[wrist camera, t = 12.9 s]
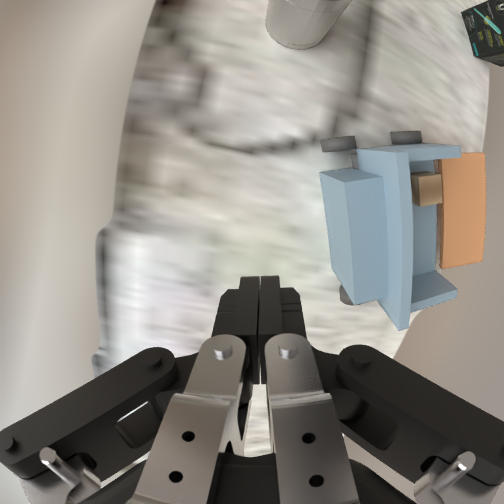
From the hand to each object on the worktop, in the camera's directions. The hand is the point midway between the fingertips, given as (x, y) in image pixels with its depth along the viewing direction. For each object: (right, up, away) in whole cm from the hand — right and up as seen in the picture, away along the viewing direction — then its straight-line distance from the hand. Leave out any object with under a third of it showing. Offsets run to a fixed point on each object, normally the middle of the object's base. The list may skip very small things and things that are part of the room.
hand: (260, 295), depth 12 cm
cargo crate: (+23, +11, +25) cm, 36 cm away
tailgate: (+29, +8, +26) cm, 40 cm away
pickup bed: (+20, +8, +33) cm, 39 cm away
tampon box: (+46, +45, +19) cm, 67 cm away
